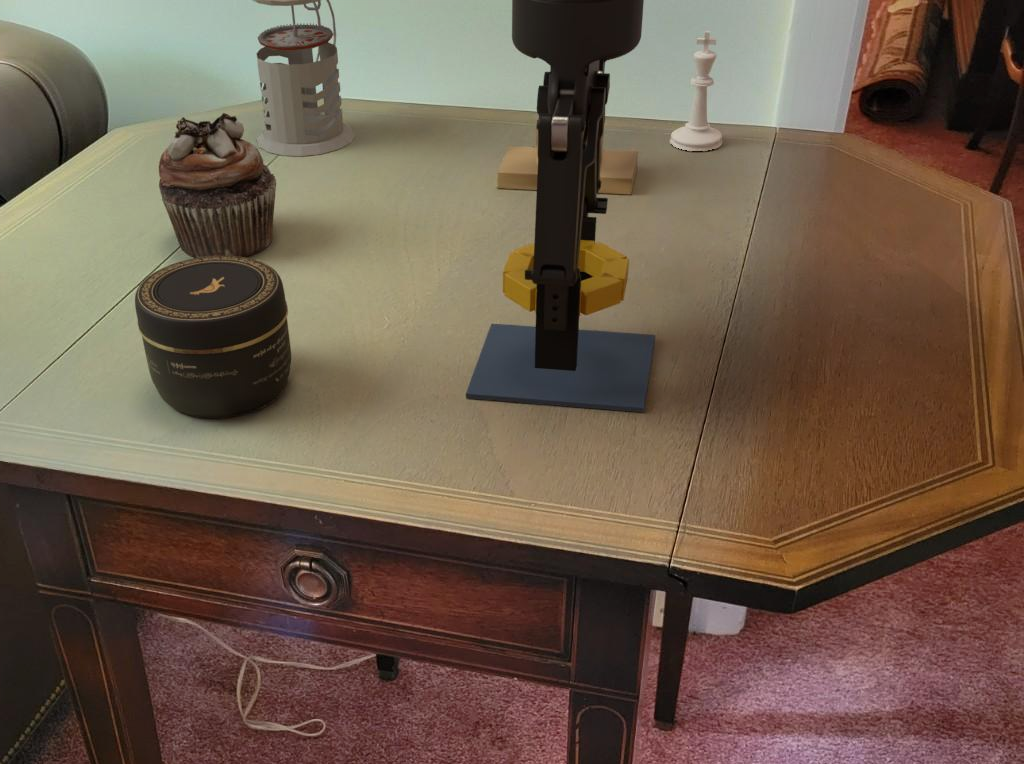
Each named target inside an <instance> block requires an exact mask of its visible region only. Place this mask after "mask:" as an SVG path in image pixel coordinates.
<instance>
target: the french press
mask: <svg viewBox="0 0 1024 764" xmlns="http://www.w3.org/2000/svg"><path fill="white" fill-rule="evenodd" d="M252 1H253V2H254V3H257V4H260V5H266V6H271V7H272V6H273V7H277V6H278V7H290V8H291V17H292V23H290V24H288V23H287V24H283V25H282V24H280V25H276V26H273V27H271V28H267V29H266V30H264V31H262V32H260V34H259V35H258V36H257V40H258V43H259V44H260V46H262V47H261V48H259V50H258V51H257V52H256V62H257V71H258V78H259V88H260V93H261V104H262V111H263V118H264V130H263V131H262V132H261V133H260V135H259V136H258V137H257V139H256V142H257V146H258V147H259V148H260V149H262V150H263V151H265V152H266V153H270V154H274V155H279V156H283V157H284V156H285V157H286V156H288V157H309V156H316V155H322V154H327V153H331V152H333V151H338V150H340V149H342V148H343V147H346V146H347V145H349V144H351V143H352V141H353V139H355V136H356V135H355V133H354V131H353V129H352V128H351V127H350V126H349V125H348V124H347V123H345V122H344V118H343V117H344V115H343V108H341V106H342V103H343V102H342V96H341V95H340V92H341V82H339V78H340V69H339V68H338V67H337V66H338V64H339V56H338V48H337V45H336V44H337V28H336V18H335V14H334V10H333V7H332V3H331V2H330V0H325V1H326V3H327V4H328V7H329V11H330V14H331V18H332V29H331V28H330V27H327V26H324V25H322V23H321V22H322V21H321V15H320V12H319V10H320V9H321V6H322V3H321V1H322V0H252ZM308 4H312V5H313V6H314V7H312V6H311V7H310V6H307V5H308ZM302 5H303V7H304V9H306V10H308V11H315V15H316V18H317V23H316V24H315V23H314V22H313V23H311V22H310V23H306V24H305V23H304V22H303V24H302V23H301V22H300V23H299V22H297V23H296V16H295V6H302ZM332 38H333V43H331V42H330V41H331V39H332ZM315 48H317V54H316V58H315V61H314V53H313V49H315ZM269 57H282V58H286V59H287V63H283V62H268V61H266V60H267V59H268V58H269ZM321 85H322V90H320V91H318V92H317V88H316V87H317V86H321ZM322 99H323V104H321V105H319V106H318V102H319V101H320V100H322ZM265 113H266V114H265Z"/></svg>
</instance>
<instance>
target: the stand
mask: <svg viewBox="0 0 1024 764" xmlns="http://www.w3.org/2000/svg"><path fill="white" fill-rule="evenodd" d="M537 120H539V118H537ZM535 123H536V124H535V146H517V145H516V146H515V145H512V146H511V145H510V146H508V148H507V149H506V152H505V154H504V156H503V159H502V161H501V164H500V166H499V167H498V171H497V178H496V179H497V180H496V181H497V183H496V184H497V189H503V190H505V189H506V190H524V191H525V190H527V191H528V190H529V191H537V175H538V129H537V121H536V122H535ZM604 133H605V129H604V130H603V135H602V137H601V161H600V181H601V188H600V190H599V192H598V194H612V195H632V192H633V188H634V182H635V179H636V174H637V169H638V162H639V151H638V150H637V151H636V150H634V151H633V150H611V149H610V150H609V149H604Z"/></svg>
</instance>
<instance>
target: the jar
mask: <svg viewBox="0 0 1024 764" xmlns="http://www.w3.org/2000/svg"><path fill="white" fill-rule="evenodd" d="M136 289H137V290H136V292H135V296H134V305H135V313H136V318H137V327H138V331H139V334H140V335H141V338H142V343H143V347H144V353H145V357H146V362H147V367H148V371H149V375H150V378H151V381H152V383H153V385H154V387H155V389H156V391H157V393H158V394H159V396H160V398H161V399H162V400H163V402H165V403H166V404H167V405H168V406H170V407H171V408H172V409H174V410H176V411H177V412H179V413H181V414H183V415H186V416H191V417H195V418H199V419H200V418H201V419H226V418H234V417H238V416H239V417H240V416H243V415H247V414H250V413H252V412H255V411H258V410H260V409H262V408H264V407H266V406H268V405H269V404H270V403H272V402H273V401H274V400H276V399H277V398H278V397H279V396H280V395H281V393H282V391H284V389H285V388H286V386H287V384H288V381H289V378H290V372H291V366H292V348H291V340H290V332H289V331H290V330H289V323H288V316H289V315H288V314H289V308H288V303H287V300H286V294H285V288H284V284H283V281H282V277H281V275H280V274H279V273H278V272H277V271H276V270H275V269H274V268H273V267H272V266H270V265H268V264H267V263H264V262H262V261H260V260H257V259H254V258H249V257H238V256H207V257H199V258H195V257H192V258H189V259H184V260H180V261H177V262H174V263H172V264H168V265H167V266H164V267H162V268H159V269H158V270H156V271H154V272H152V273H151V274H150V275H148V276H147V277H146V278H144V280H143V281H142V282H141V283H140V284H139V286H138V287H137V288H136Z"/></svg>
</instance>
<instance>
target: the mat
mask: <svg viewBox="0 0 1024 764" xmlns="http://www.w3.org/2000/svg"><path fill="white" fill-rule="evenodd" d="M535 334H536V326H533V325H517V324H505V323H503V324H501V323H490V326H489V329H488V331H487V335H486V337H485V340H484V343H483V345H482V348H481V351H480V353H479V356H478V359H477V361H476V365H475V367H474V370H473V373H472V376H471V378H470V381H469V384H468V386H467V389H466V392H465V398H466V399H469V400H471V399H473V400H481V401H482V400H483V401H484V400H485V401H493V402H494V401H495V402H497V401H498V402H506V403H507V402H508V403H520V404H523V403H524V404H531V405H532V404H533V405H545V406H556V407H558V406H559V407H571V408H582V409H583V408H584V409H594V410H606V411H621V412H633V413H645V406H646V400H647V394H648V389H649V381H650V374H651V369H652V363H653V362H652V361H653V355H654V348H655V342H656V334H651V333H650V334H648V333H633V332H618V331H606V330H605V331H604V330H590V329H579V331H578V352H577V367H576V371H568V370H555V369H542V368H535Z"/></svg>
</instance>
